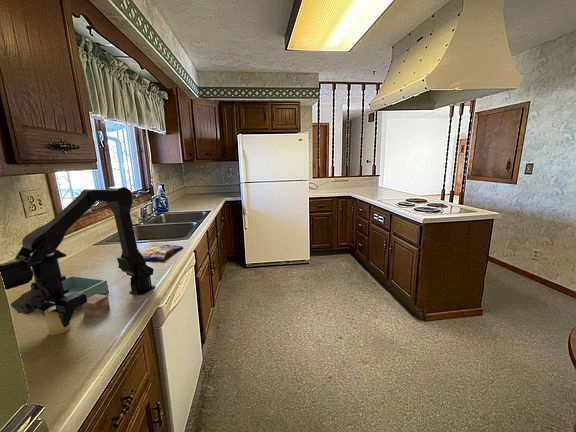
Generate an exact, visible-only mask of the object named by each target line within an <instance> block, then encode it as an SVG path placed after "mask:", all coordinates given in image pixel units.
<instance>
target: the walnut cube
mask: <svg viewBox="0 0 576 432" xmlns="http://www.w3.org/2000/svg"><path fill="white" fill-rule="evenodd" d="M87 300H88V301H87V302H86V303H85V304H83V305H82V307H81V308H82V311H83V316H85V317H91V318H98V317H99V316H101V315H103V314H105V313H106V312H108V311H109V310H111V306H110V301H109V297H108V295H107V294H105V295H99V294H95V295H93V296H91V297H89V298H87Z"/></svg>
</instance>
